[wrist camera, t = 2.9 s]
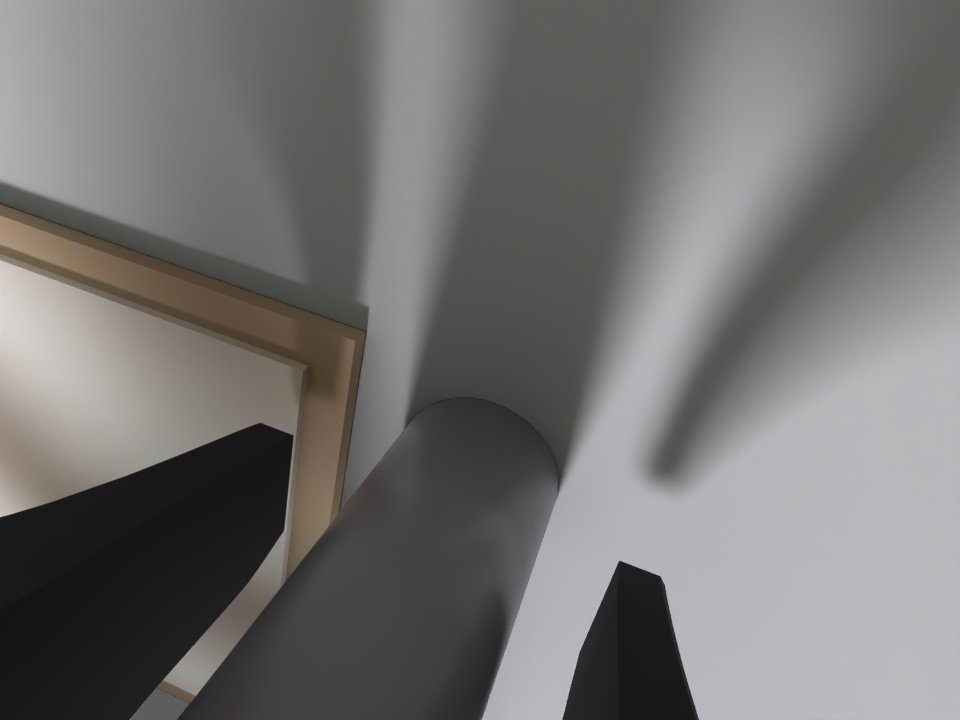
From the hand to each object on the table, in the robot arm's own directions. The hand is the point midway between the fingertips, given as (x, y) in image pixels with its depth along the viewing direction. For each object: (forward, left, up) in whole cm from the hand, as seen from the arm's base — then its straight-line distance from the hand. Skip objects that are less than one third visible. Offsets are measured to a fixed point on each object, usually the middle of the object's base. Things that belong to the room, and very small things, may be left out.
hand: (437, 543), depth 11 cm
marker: (0, 0, -2) cm, 2 cm away
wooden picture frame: (-4, +10, -2) cm, 11 cm away
